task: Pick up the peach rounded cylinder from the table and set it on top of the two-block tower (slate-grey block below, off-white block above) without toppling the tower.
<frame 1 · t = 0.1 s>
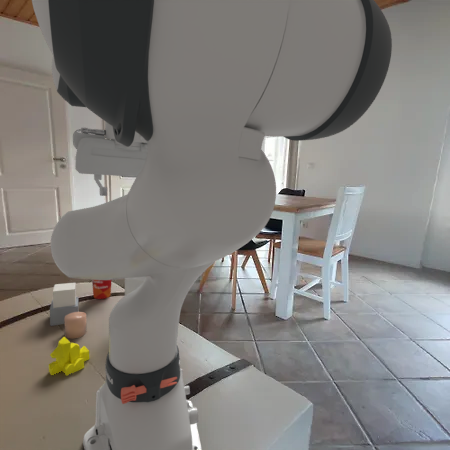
hand: (125, 196, 64), 39 cm above the table, tool pointing down, fingers open, 8 cm apart
peach rounded cylinder: (75, 333, 76), on the table
tower top block: (65, 302, 83), point 5 cm above the table, touching tower base block
tower base block: (65, 318, 84), on the table, touching tower top block
yellow crystal cluster: (70, 366, 64), on the table
paper cup: (102, 296, 100), on the table
milk carton: (140, 324, 83), on the table
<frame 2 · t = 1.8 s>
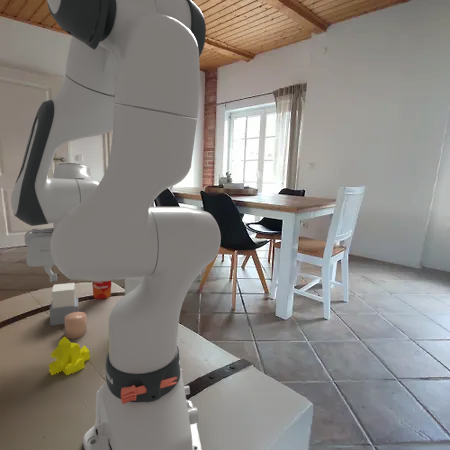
hand: (74, 279, 74), 15 cm above the table, tool pointing down, fingers open, 8 cm apart
nothing on the table moved.
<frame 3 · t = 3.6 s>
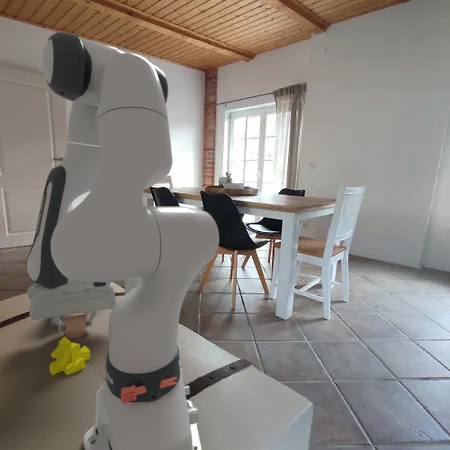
hand: (75, 327, 76), 2 cm above the table, tool pointing down, fingers closed on peach rounded cylinder, 5 cm apart
peach rounded cylinder: (76, 333, 76), on the table, touching gripper
everything else where it was.
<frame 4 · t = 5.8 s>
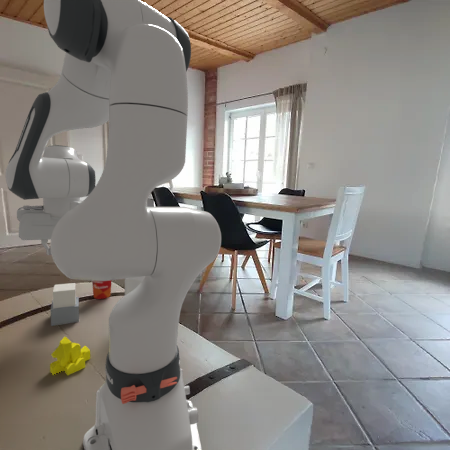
hand: (63, 253, 81), 20 cm above the table, tool pointing down, fingers closed on peach rounded cylinder, 5 cm apart
peach rounded cylinder: (63, 259, 81), point 18 cm above the table, touching gripper
everything else where it was.
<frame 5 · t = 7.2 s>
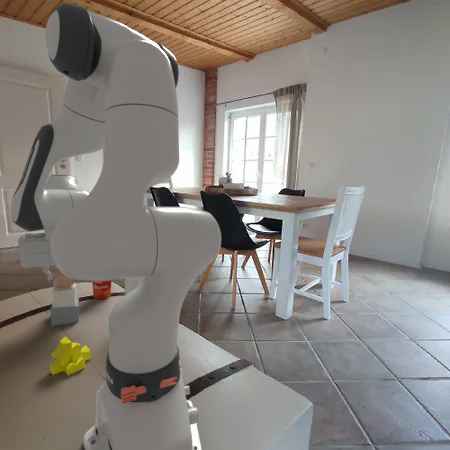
hand: (64, 278, 82), 12 cm above the table, tool pointing down, fingers closed on peach rounded cylinder, 5 cm apart
peach rounded cylinder: (64, 284, 82), point 11 cm above the table, touching gripper
tower top block: (65, 303, 83), point 5 cm above the table
tower base block: (65, 318, 84), on the table
everything else where it was.
when the fingers open (12 cm above the table, at t = 7.6 s): peach rounded cylinder stays where it is, resting on tower top block.
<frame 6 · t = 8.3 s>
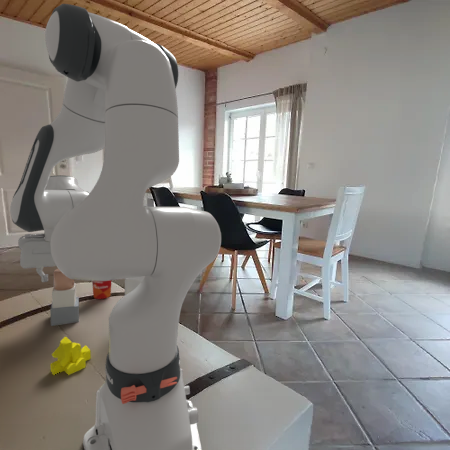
hand: (64, 279, 82), 12 cm above the table, tool pointing down, fingers open, 8 cm apart
peach rounded cylinder: (64, 286, 82), point 10 cm above the table, touching tower top block
tower top block: (64, 303, 83), point 5 cm above the table, touching peach rounded cylinder, tower base block
tower base block: (65, 318, 84), on the table, touching tower top block
everything else where it was.
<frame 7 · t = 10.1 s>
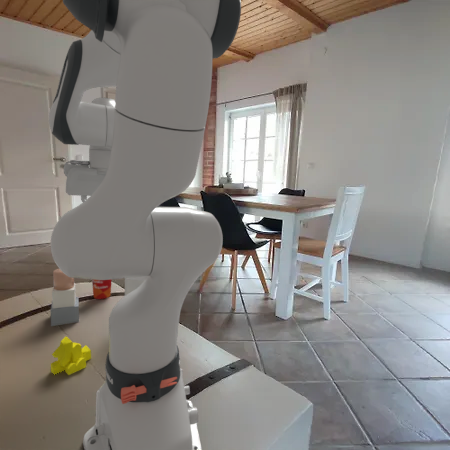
hand: (107, 212, 79), 33 cm above the table, tool pointing down, fingers open, 8 cm apart
nothing on the table moved.
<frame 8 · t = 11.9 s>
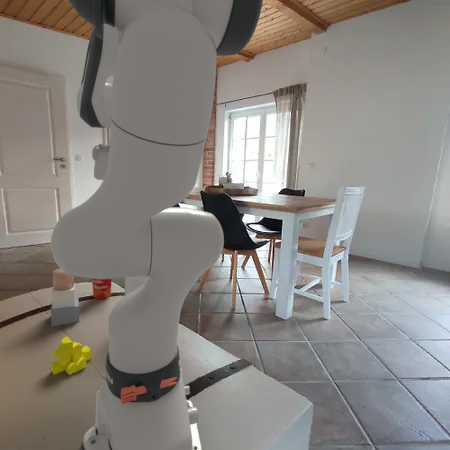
hand: (133, 198, 79), 37 cm above the table, tool pointing down, fingers open, 8 cm apart
nothing on the table moved.
at the end: peach rounded cylinder 0.2 cm off-centre on the tower base block, point 10.0 cm above the tower base block's base; tower top block tilted 0°; tower top block point 4.8 cm above the table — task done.
